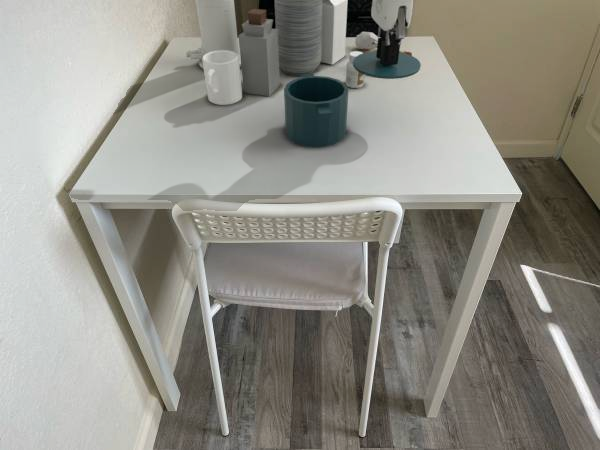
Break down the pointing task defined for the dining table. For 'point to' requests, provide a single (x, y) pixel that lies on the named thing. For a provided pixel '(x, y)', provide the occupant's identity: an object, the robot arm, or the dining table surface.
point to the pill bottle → (353, 72)
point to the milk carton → (333, 30)
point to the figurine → (366, 40)
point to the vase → (299, 35)
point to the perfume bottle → (259, 54)
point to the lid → (374, 67)
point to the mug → (222, 77)
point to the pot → (315, 110)
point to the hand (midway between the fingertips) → (386, 60)
